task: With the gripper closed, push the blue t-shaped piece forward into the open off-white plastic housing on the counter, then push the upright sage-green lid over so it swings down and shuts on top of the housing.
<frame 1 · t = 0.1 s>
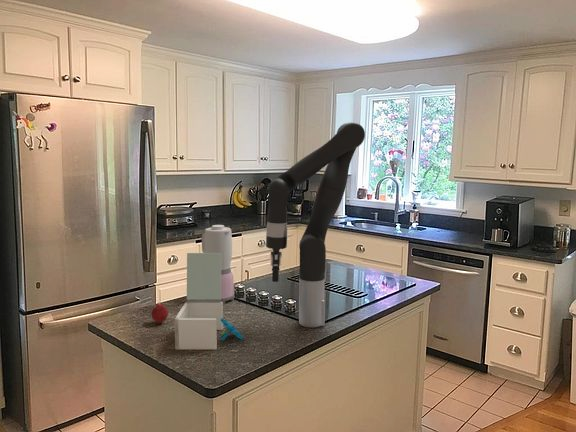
hand: (275, 278, 173), 17 cm above the table, tool pointing down, fingers open, 8 cm apart
onion: (160, 323, 175), on the table
lid: (204, 277, 168), point 19 cm above the table, hinge at 100.0°
blue t-shaped piece: (231, 339, 162), on the table
blender: (216, 299, 203), on the table
housing: (200, 338, 161), on the table
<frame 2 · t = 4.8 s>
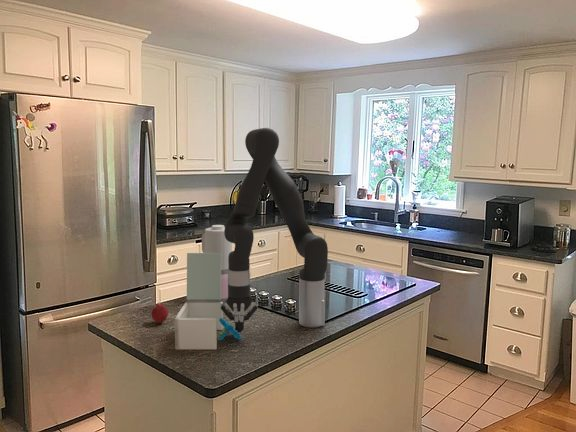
hand: (239, 331, 161), 3 cm above the table, tool pointing down, fingers closed
blue t-shaped piece: (230, 339, 161), on the table, touching gripper
everything else where it was.
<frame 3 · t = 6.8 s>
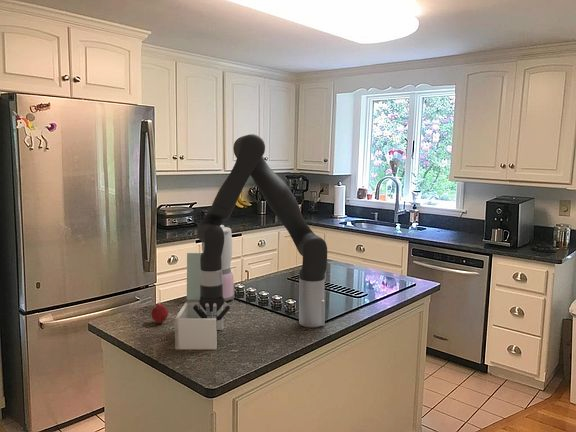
hand: (212, 331, 161), 3 cm above the table, tool pointing down, fingers closed
blue t-shaped piece: (203, 339, 162), resting in housing
everything else where it was.
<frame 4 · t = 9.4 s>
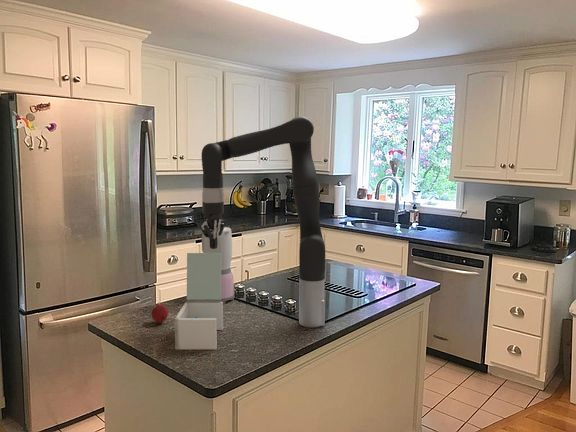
hand: (213, 248, 170), 29 cm above the table, tool pointing down, fingers closed
nothing on the table moved.
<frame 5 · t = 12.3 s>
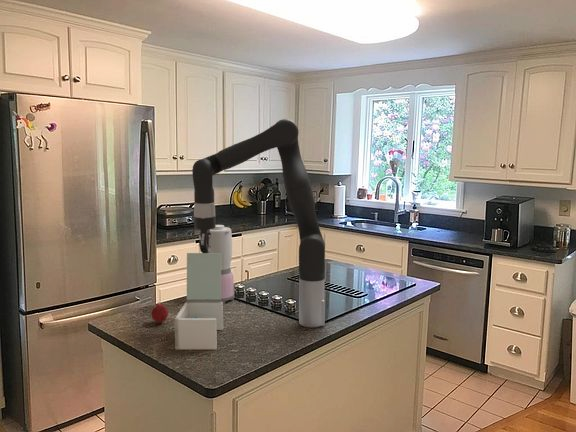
hand: (205, 262, 172), 23 cm above the table, tool pointing down, fingers closed
lid: (204, 277, 168), point 19 cm above the table, hinge at 99.1°, touching gripper
everything else where it was.
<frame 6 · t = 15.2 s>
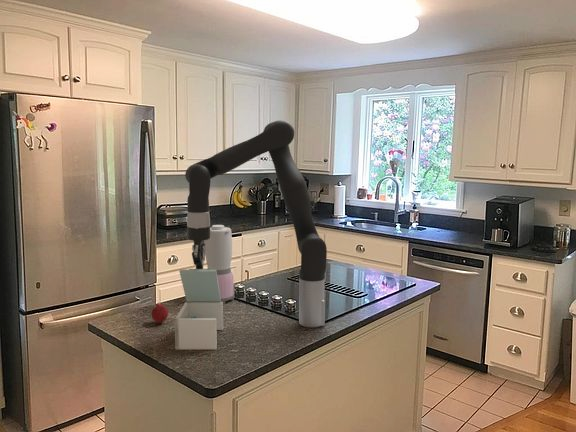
hand: (199, 275, 160), 22 cm above the table, tool pointing down, fingers closed
lid: (201, 286, 162), point 17 cm above the table, hinge at 54.4°, touching gripper
everything else where it was.
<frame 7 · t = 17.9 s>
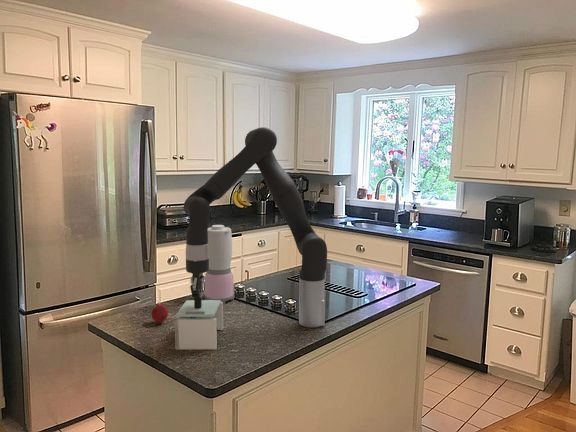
hand: (198, 307, 158), 11 cm above the table, tool pointing down, fingers closed
lid: (199, 306, 160), point 11 cm above the table, hinge at 3.2°, touching gripper
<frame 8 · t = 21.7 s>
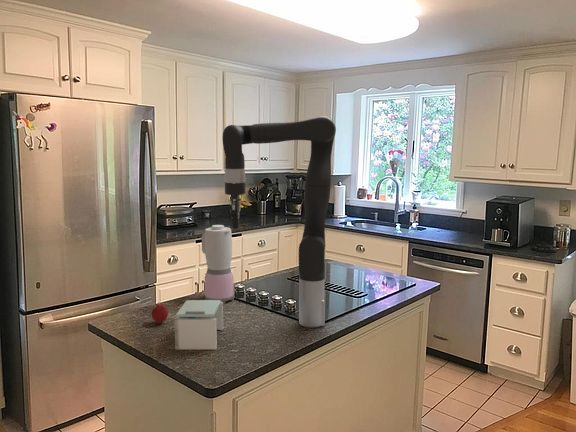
hand: (235, 228, 174), 35 cm above the table, tool pointing down, fingers closed
lid: (199, 306, 160), point 11 cm above the table, hinge at 3.1°
at the end: blue t-shaped piece inside the target area on the housing (0.5 cm from its centre), point 0.0 cm above the housing's base; lid at +3° (first picture: +100°) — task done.
